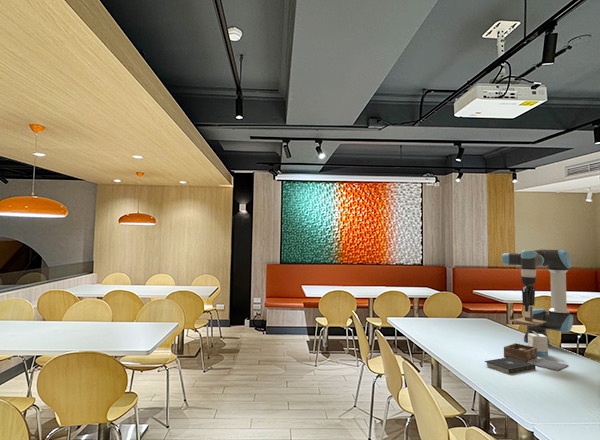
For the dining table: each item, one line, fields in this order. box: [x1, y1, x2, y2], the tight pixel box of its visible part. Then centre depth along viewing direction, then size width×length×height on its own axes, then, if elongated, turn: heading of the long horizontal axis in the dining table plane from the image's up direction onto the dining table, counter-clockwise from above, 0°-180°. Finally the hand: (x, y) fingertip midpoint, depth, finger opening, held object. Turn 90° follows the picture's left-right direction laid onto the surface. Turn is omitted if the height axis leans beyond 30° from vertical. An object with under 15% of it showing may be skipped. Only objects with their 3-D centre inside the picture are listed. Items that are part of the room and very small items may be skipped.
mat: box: [531, 358, 569, 372], centre depth 212 cm, size 16×13×1 cm
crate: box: [503, 342, 538, 363], centre depth 226 cm, size 16×12×6 cm
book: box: [484, 357, 536, 375], centre depth 206 cm, size 22×15×3 cm
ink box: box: [527, 331, 549, 357], centre depth 235 cm, size 9×8×13 cm
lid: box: [510, 307, 546, 327], centre depth 223 cm, size 17×13×10 cm
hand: (528, 316), depth 223 cm, fingers closed on lid, 3 cm apart
